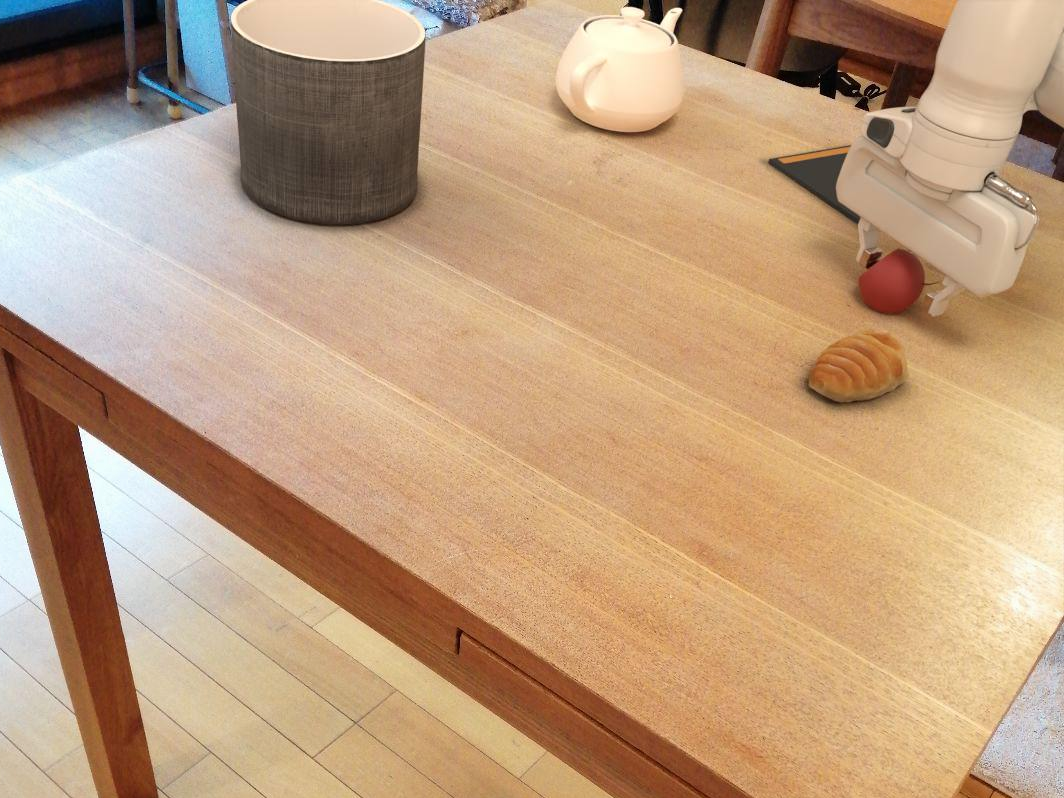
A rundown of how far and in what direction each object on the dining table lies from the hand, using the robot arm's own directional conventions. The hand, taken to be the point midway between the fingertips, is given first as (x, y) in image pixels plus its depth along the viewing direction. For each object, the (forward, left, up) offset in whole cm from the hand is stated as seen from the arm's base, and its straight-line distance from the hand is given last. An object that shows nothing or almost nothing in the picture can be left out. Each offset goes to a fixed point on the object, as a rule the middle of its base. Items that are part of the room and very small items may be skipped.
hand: (897, 288), depth 106 cm
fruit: (0, 0, -2) cm, 2 cm away
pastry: (+13, +8, -2) cm, 15 cm away
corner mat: (-19, -22, -2) cm, 29 cm away
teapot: (+1, -47, -2) cm, 47 cm away
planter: (+42, -40, -2) cm, 58 cm away
